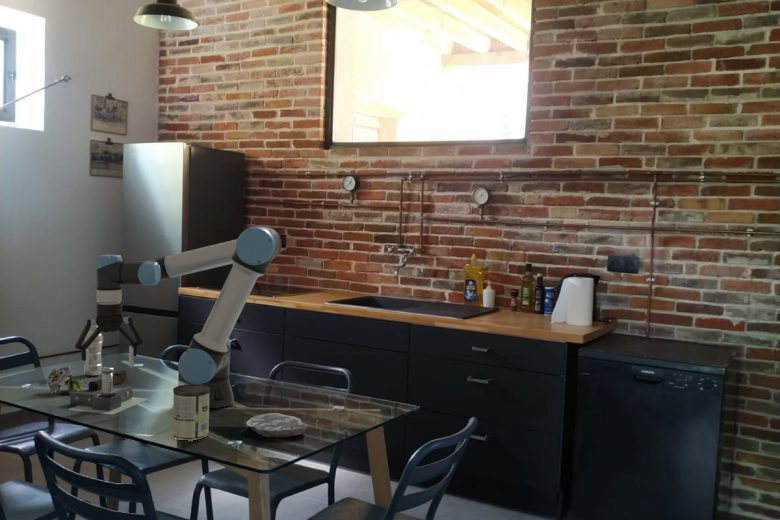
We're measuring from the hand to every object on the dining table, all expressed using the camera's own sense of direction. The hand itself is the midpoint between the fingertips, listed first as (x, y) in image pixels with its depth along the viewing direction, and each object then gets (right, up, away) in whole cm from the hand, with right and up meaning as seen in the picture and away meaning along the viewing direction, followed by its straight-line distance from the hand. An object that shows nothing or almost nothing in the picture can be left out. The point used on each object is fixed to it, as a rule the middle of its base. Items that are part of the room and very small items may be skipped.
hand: (109, 368), depth 231 cm
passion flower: (-23, -12, +19) cm, 32 cm away
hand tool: (-12, -12, +31) cm, 36 cm away
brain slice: (+56, -17, -15) cm, 60 cm away
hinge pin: (-1, -13, +1) cm, 13 cm away
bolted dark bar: (+1, -12, +9) cm, 15 cm away
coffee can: (+33, -16, -23) cm, 43 cm away
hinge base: (-6, -13, +2) cm, 14 cm away
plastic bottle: (-25, -10, +47) cm, 54 cm away
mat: (-2, -13, +6) cm, 14 cm away
